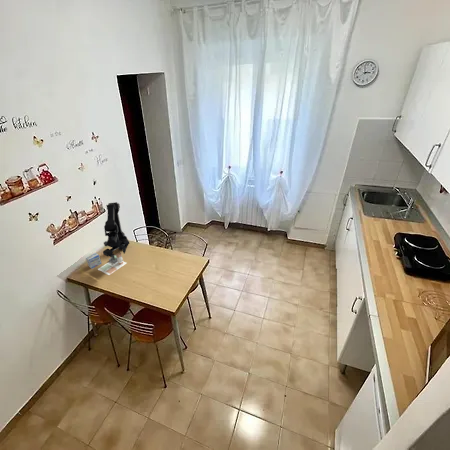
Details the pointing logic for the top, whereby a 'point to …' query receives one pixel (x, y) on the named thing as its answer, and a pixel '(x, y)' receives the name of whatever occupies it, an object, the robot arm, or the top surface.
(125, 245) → the robot arm
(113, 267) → the board with colored squares
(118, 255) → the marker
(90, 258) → the medicine box
